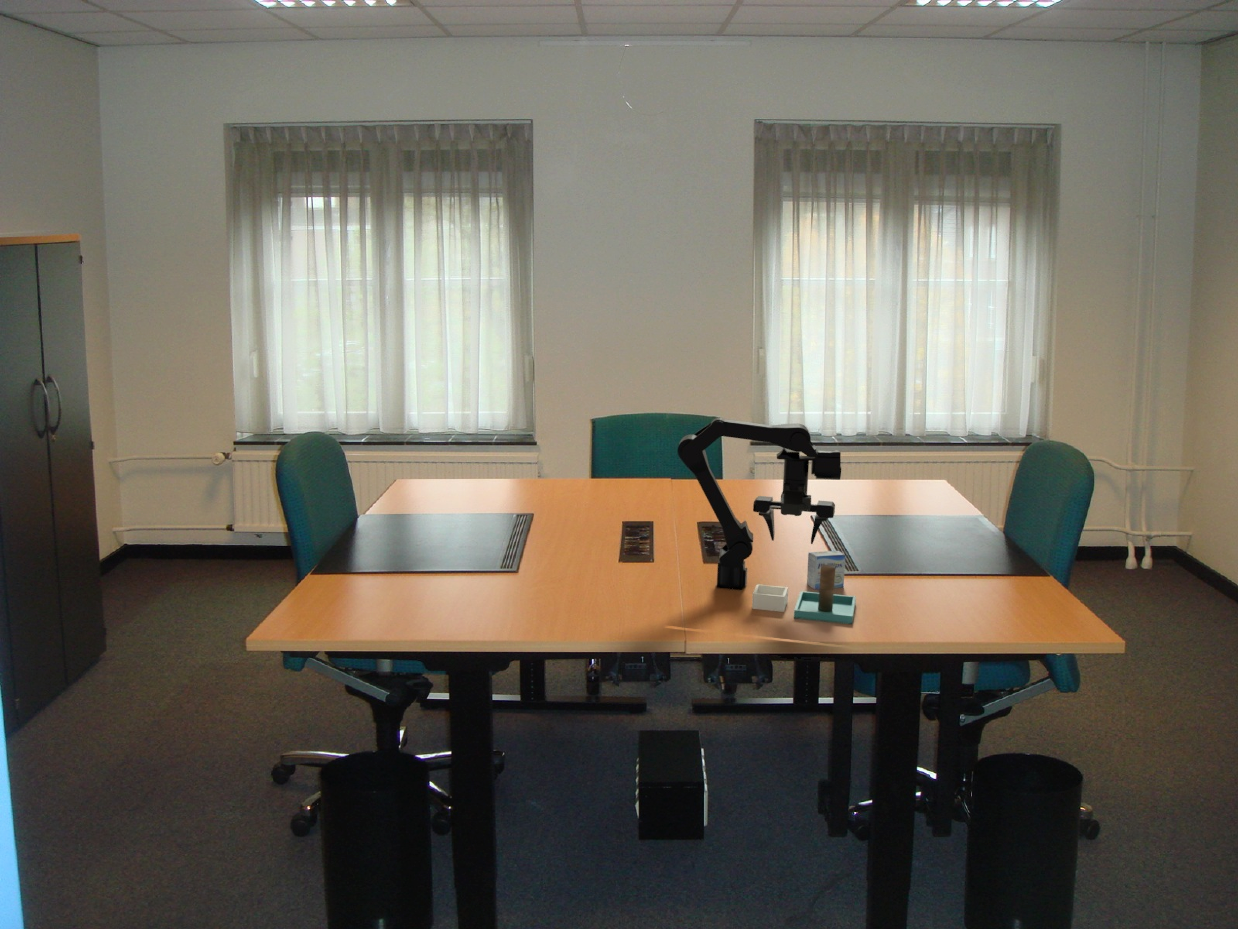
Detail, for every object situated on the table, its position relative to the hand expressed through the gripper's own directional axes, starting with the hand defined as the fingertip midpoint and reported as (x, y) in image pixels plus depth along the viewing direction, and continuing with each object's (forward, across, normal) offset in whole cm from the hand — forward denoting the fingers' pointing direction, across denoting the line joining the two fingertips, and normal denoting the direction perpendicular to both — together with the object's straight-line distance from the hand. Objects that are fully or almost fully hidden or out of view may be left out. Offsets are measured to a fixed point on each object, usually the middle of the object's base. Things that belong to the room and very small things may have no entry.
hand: (792, 541), depth 253 cm
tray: (+12, +10, -14) cm, 21 cm away
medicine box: (+12, +8, +5) cm, 16 cm away
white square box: (+12, -3, -14) cm, 19 cm away
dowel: (+11, +9, -14) cm, 20 cm away
